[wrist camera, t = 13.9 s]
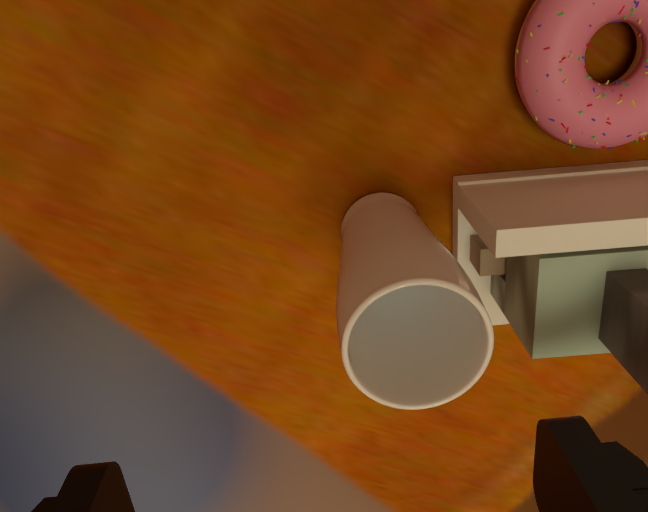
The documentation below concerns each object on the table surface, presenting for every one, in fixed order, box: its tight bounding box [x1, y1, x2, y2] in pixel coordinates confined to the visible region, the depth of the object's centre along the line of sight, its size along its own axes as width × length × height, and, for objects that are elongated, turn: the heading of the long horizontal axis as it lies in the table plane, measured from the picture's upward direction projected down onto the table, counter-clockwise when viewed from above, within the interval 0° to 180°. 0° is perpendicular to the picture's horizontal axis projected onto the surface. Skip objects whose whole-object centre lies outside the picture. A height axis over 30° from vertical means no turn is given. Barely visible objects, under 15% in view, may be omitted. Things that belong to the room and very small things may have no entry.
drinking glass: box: [336, 192, 494, 410], centre depth 31 cm, size 7×7×15 cm
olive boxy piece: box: [490, 245, 648, 394], centre depth 31 cm, size 6×9×13 cm, turn 95°
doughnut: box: [515, 0, 648, 149], centre depth 32 cm, size 11×11×4 cm
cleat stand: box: [452, 160, 648, 325], centre depth 34 cm, size 10×14×10 cm
